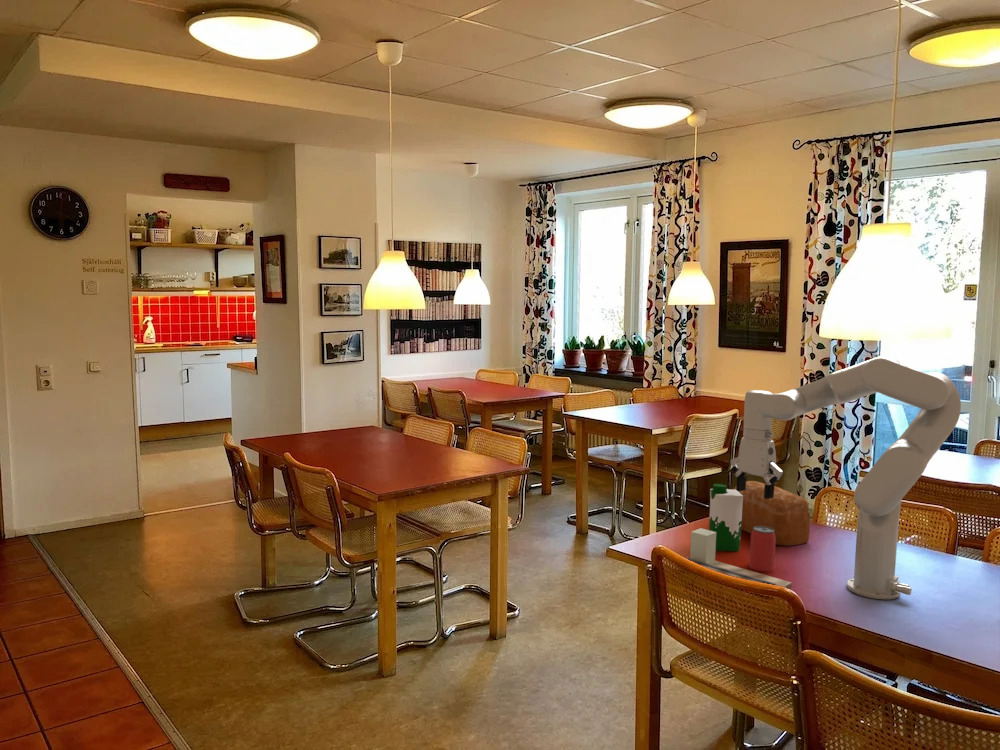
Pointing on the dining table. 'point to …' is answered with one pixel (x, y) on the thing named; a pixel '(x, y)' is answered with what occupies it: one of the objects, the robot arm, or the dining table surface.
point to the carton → (703, 546)
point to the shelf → (743, 573)
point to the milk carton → (726, 517)
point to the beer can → (762, 549)
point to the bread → (776, 513)
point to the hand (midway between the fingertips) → (754, 494)
